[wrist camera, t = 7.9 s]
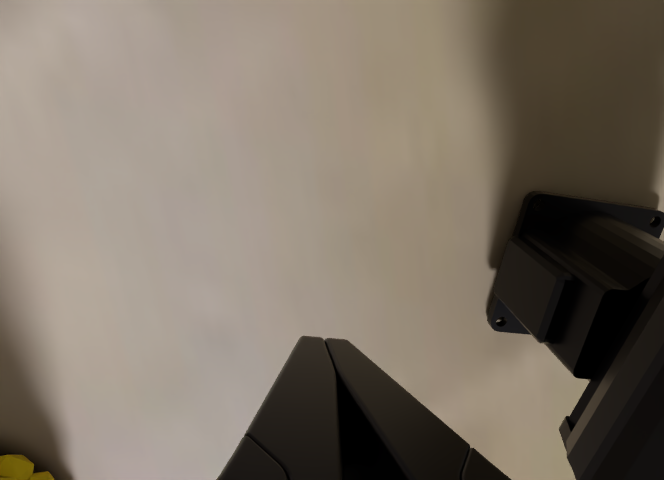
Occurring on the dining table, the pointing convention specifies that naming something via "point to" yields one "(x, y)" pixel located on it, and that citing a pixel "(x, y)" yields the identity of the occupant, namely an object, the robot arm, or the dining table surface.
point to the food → (20, 469)
